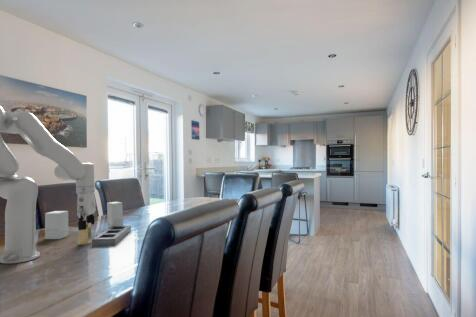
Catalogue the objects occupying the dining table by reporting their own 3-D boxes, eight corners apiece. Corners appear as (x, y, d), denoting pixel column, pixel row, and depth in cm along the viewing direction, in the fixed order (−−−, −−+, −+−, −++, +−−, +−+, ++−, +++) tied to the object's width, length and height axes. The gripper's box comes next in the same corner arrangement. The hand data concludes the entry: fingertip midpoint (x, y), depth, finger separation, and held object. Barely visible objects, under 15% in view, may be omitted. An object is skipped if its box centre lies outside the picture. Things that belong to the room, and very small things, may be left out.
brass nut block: (87, 244, 135) (87, 224, 135) (78, 244, 135) (78, 224, 135) (91, 242, 139) (91, 222, 139) (82, 242, 138) (82, 222, 139)
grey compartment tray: (115, 245, 133) (115, 238, 133) (91, 246, 132) (91, 239, 132) (130, 231, 161) (130, 225, 161) (111, 231, 160) (111, 225, 160)
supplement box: (68, 235, 151) (69, 210, 151) (58, 239, 144) (58, 213, 144) (55, 235, 152) (55, 210, 152) (44, 239, 144) (44, 213, 144)
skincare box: (123, 229, 165) (123, 202, 165) (112, 231, 161) (112, 203, 161) (117, 227, 171) (117, 200, 171) (106, 228, 167) (106, 201, 167)
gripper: (86, 191, 129) (88, 231, 129) (100, 187, 146) (101, 222, 147) (68, 192, 128) (69, 232, 129) (84, 187, 145) (85, 223, 146)
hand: (86, 226), depth 138 cm, fingers open, 9 cm apart
